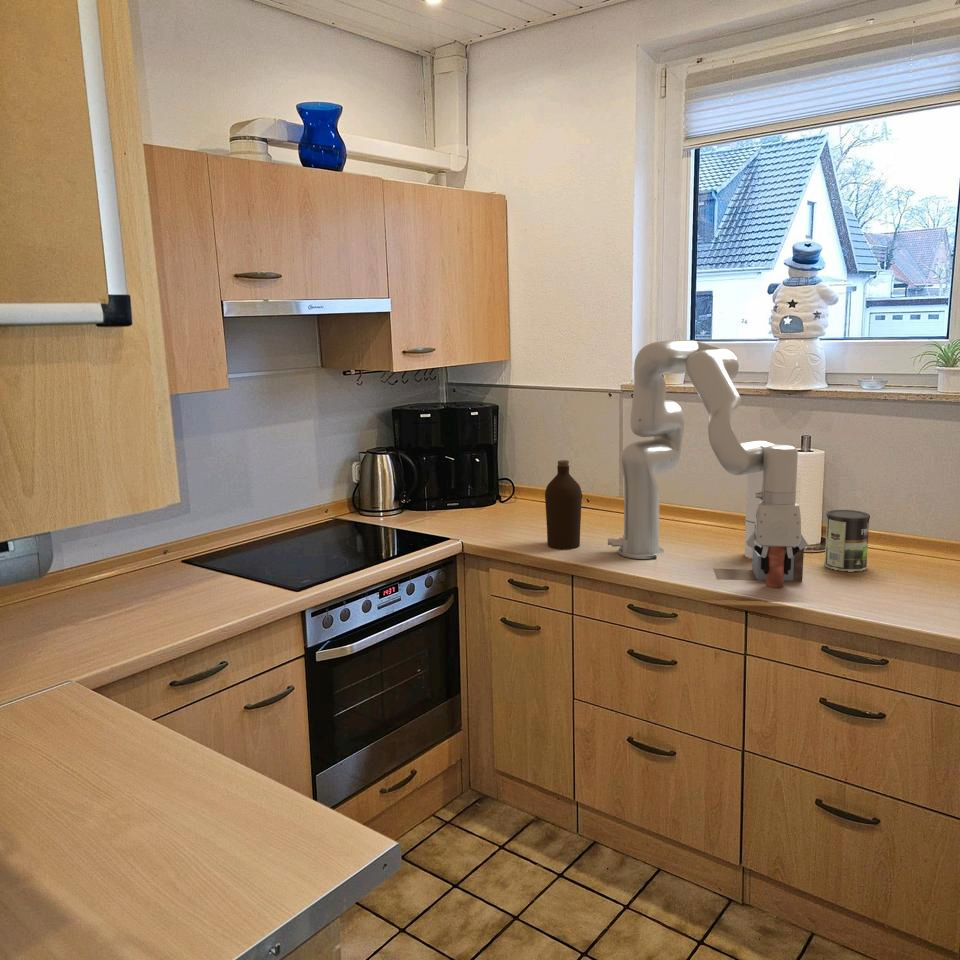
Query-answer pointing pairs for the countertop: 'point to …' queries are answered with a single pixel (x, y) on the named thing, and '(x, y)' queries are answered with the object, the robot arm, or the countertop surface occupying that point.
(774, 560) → the dowel
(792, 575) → the socket block
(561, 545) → the olive oil
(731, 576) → the rail
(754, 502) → the cylindrical container
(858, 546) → the coffee can
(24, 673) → the countertop surface
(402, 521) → the countertop surface
